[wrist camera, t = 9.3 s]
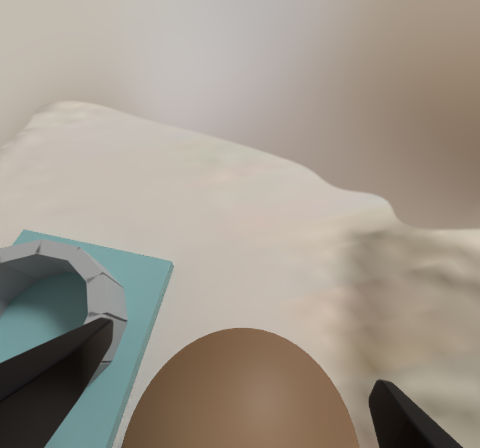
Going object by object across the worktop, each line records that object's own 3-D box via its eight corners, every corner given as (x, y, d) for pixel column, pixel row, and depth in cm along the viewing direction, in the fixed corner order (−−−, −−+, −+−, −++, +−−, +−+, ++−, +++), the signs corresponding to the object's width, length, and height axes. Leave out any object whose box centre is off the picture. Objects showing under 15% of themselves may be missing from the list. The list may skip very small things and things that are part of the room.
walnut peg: (254, 440, 13) (374, 714, 3) (179, 423, 13) (59, 634, 3) (265, 354, 15) (359, 351, 5) (200, 340, 15) (166, 309, 5)
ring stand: (107, 459, 12) (60, 503, 8) (-88, 413, 12) (-213, 436, 9) (173, 266, 17) (162, 242, 13) (33, 236, 17) (-15, 204, 13)
